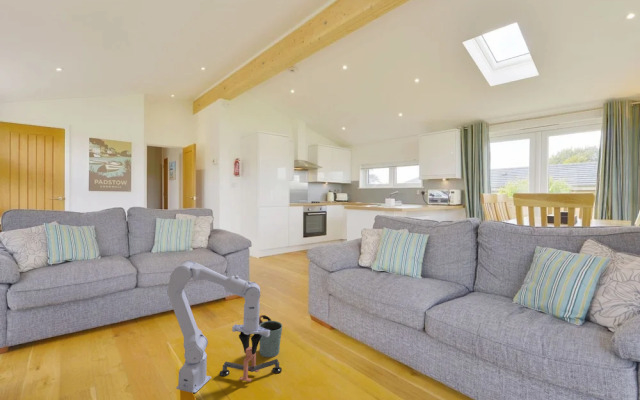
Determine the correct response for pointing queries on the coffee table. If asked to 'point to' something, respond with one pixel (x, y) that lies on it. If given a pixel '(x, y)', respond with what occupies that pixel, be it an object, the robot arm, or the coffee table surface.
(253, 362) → the pink blocky toy figure
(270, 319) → the vr controller
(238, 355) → the coffee table surface
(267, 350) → the green tapered cup
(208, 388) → the coffee table surface
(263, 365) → the wheeled bent frame
